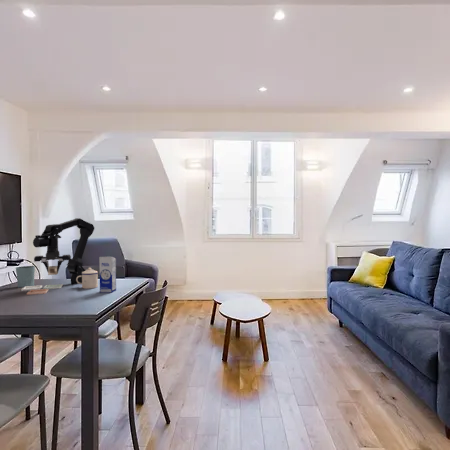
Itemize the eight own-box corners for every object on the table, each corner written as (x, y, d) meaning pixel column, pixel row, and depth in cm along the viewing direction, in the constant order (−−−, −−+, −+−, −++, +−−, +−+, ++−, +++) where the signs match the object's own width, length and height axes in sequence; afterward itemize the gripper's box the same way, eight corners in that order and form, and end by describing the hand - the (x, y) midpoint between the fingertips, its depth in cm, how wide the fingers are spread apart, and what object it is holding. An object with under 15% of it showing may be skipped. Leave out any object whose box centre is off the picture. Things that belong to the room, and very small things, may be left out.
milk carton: (99, 292, 189) (99, 256, 189) (104, 290, 196) (103, 255, 195) (112, 292, 189) (111, 256, 188) (116, 290, 195) (116, 255, 195)
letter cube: (57, 273, 205) (57, 265, 204) (56, 274, 200) (56, 266, 200) (49, 273, 203) (49, 266, 203) (48, 275, 199) (48, 267, 199)
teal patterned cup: (28, 288, 203) (28, 267, 203) (12, 288, 203) (11, 268, 203) (38, 284, 213) (38, 265, 213) (22, 285, 213) (22, 265, 213)
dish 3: (62, 286, 207) (62, 284, 207) (60, 289, 199) (60, 286, 199) (46, 287, 205) (46, 285, 205) (43, 290, 196) (43, 287, 196)
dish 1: (42, 287, 204) (42, 285, 204) (39, 290, 196) (39, 288, 195) (25, 288, 201) (25, 286, 201) (21, 291, 193) (21, 289, 193)
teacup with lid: (98, 285, 210) (97, 266, 210) (98, 288, 202) (98, 268, 201) (76, 286, 206) (76, 267, 206) (76, 289, 197) (75, 269, 197)
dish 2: (48, 291, 193) (48, 288, 193) (45, 294, 185) (45, 292, 185) (30, 292, 191) (30, 289, 191) (26, 295, 182) (26, 293, 182)
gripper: (31, 247, 191) (32, 275, 191) (68, 246, 197) (68, 273, 197) (36, 246, 202) (36, 272, 202) (70, 245, 207) (71, 271, 207)
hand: (53, 272), depth 202 cm, fingers closed on letter cube, 4 cm apart
